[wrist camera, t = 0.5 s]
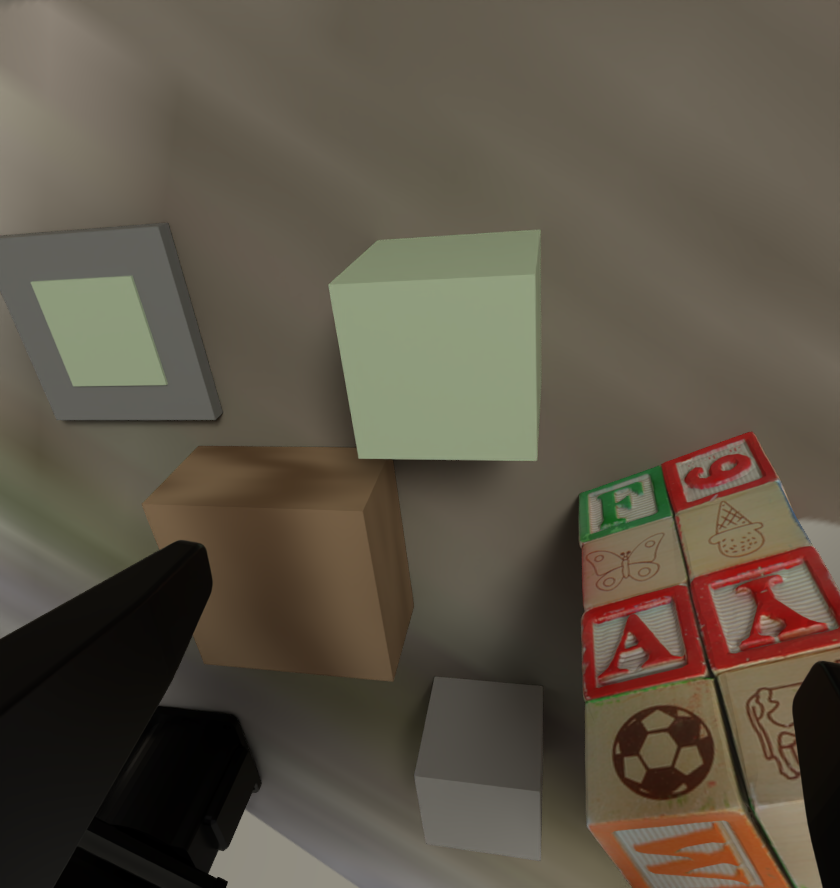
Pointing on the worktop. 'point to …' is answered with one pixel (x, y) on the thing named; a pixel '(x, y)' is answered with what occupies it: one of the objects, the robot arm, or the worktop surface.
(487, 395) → the sage cube
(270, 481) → the walnut base block
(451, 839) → the grey cube
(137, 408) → the slate card
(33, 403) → the worktop surface
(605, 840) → the stack of blocks
